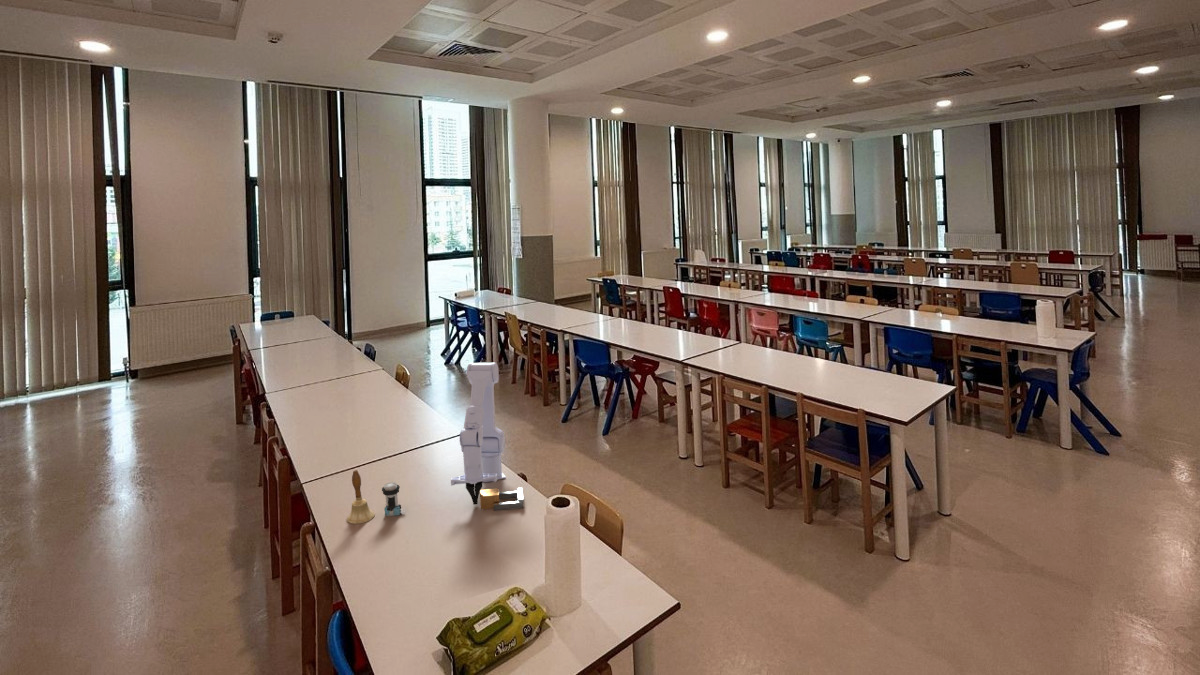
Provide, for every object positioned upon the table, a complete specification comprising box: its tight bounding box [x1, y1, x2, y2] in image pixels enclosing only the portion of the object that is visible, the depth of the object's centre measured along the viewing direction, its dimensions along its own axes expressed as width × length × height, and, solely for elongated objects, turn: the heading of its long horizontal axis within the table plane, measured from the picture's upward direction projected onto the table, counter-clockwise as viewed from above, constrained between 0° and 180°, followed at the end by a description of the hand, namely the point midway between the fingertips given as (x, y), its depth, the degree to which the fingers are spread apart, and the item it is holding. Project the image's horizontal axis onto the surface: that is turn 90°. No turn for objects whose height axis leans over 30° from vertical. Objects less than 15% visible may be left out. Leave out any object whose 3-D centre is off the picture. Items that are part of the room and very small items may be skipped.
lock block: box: [479, 487, 500, 510], centre depth 198 cm, size 6×5×4 cm
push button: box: [381, 482, 406, 517], centre depth 193 cm, size 7×5×10 cm
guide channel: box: [493, 487, 524, 511], centre depth 199 cm, size 10×9×3 cm
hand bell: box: [346, 469, 375, 525], centre depth 190 cm, size 8×8×16 cm
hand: (475, 503), depth 198 cm, fingers closed
